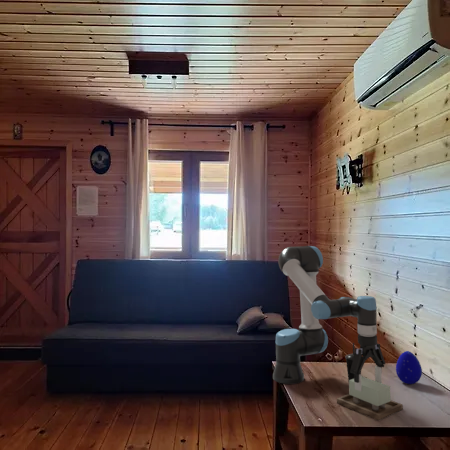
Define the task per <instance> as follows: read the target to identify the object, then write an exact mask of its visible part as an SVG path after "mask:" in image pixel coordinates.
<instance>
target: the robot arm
mask: <svg viewBox="0 0 450 450" xmlns="http://www.w3.org/2000/svg"><path fill="white" fill-rule="evenodd" d="M277 263H278V267H279V269H280V271H281V272H282V274H283V275H285V276H287V277H289V279H290V280H291V282H292V283H294V285H295V286H296V287H297V289H298V290H299V298H300V300H299V301H300V302H299V303H300V315H301V317H300V319H301V320H300V321H301V323H300V325H299V326H298V329H297V328H284V329H281V330H280V331H278V332H276V334H275V343H274V344H275V356H276V357H275V358H276V359H275V362H276V363H275V366H274V369H273V370H274V371H273V373H272V380H273V381H275V382H276V383H279V384H284V385H296V384H300V383H303V382H304V381H305V374H304V371H303V368H302V365H301V357H303V356H309V355H317V354H320V353H323V352H325V351H326V349H327V347H328V343H329V338H328V334H327V332H326V330H325V329H324V328H323V325H322V324H320V321H319V320H327V319H334V318H344V317H353V318H357V343H358V344H359V348H358V347H354V350H355V354H354V358H353V362H352V366H351V369H350V373H353V374H354V382H355V390H358V391H362V384H361V376H362V369H363V368H364V366H365V363H366V361H367V360H368V359H370V358H371V359H372V361H373V362H374V364H375V366H374V381H376V382H379V383H382V384H383V378H382V377H383V370H382V369H383V368H385V365H386V361H385V357H384V355H383V352H382V348H381V344H380V343H378V335H377V334H378V330H377V329H378V328H377V327H378V326H377V324H378V323H377V322H378V321H377V319H378V317H377V315H378V314H377V308H378V306H377V300H376V298H375V297H374V296H371V295H370V296H368V295H359V296H357V298H353V297H350V296H341V297H339V298H337V299H330V298H329V297H328V296H327V295H326V294H325V293H324V292H323V290H322V289H321V288H320V286H318V283H317V275H318V274H319V272H320V270H319V269H320V268H321V267H322V266H323V264H324V258H323V254H322V251H321V250H320V249H319V248H318V247H317V246H314V245H313V246H312V245H304V246H288V247H285V248H284V249H283V250H282V251H281V252H280V253H279V255H278V261H277ZM360 372H361V374H360Z"/></svg>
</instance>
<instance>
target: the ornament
mask: <svg viewBox="0 0 450 450" xmlns="http://www.w3.org/2000/svg"><path fill="white" fill-rule="evenodd" d="M422 369H423V368H422V366H421V362H420V360H419V359H418V357H417V356H416V355H415V354H414V353H413V352H411V351H409V350H406V351H404V352H402V353H400V355H399V357H398V359H397V360H396V364H395V372H396V376H397V377H398V379H399V380H400V382H402V383H404V384H407V385H414V384H416V383H418V382H419V381H420V380H421V377H422V374H423V370H422Z"/></svg>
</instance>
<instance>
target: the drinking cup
mask: <svg viewBox="0 0 450 450" xmlns="http://www.w3.org/2000/svg"><path fill="white" fill-rule="evenodd" d="M354 354H355V342H353V343H352V353H350V354H346V355H345V360H346V361H345V363H346V371H347V379H348V382H349V380H351V379H354V374H353V373H350V369H351V366H352V362H353V358H354ZM360 374H361V375H362V371H361V372H360Z"/></svg>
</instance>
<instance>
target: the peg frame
mask: <svg viewBox="0 0 450 450" xmlns="http://www.w3.org/2000/svg"><path fill="white" fill-rule="evenodd" d="M336 404H338V405H340V406H342V407H345V408H348V409H350V410H353V411H355V412H357V413H359V414H361V415H365V416H367V417H368V418H371V419H374V420H375V421H379V422H380V421H381V420H384V419H386V418H388V417H390V416H392V415H394V414H397V413H398V412H400V411H403V410H404V409H403V408H404V406H403V403H400V402H396V401H394V400H391V401H390V402H388V403H385V404H382V405H380V406H376V405H374V404H371V403H369V402H366V401H364V400H361V399H359V398H356V397H354V396H352V395H349V393H347V394H345V395H342V396H340V397H336Z"/></svg>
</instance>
